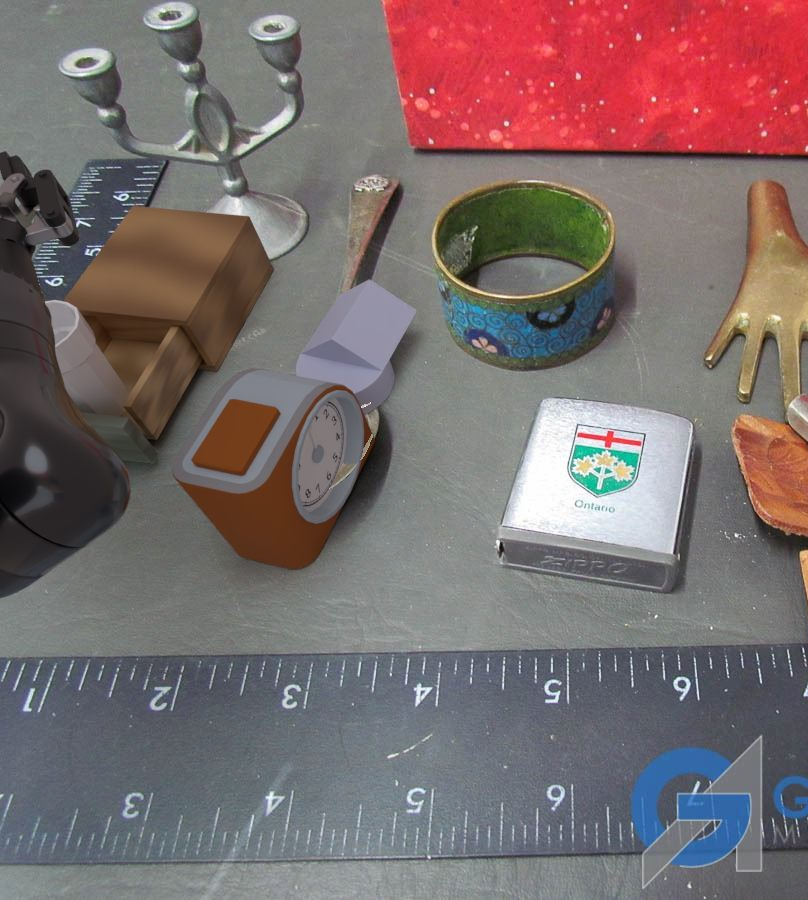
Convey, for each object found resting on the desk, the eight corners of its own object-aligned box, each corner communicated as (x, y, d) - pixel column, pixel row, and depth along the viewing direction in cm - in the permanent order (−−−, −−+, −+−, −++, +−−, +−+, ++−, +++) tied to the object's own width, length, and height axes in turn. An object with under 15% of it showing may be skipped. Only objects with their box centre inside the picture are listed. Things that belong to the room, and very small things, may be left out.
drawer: (147, 474, 78) (116, 438, 73) (28, 459, 79) (-11, 423, 74) (217, 350, 86) (193, 311, 82) (108, 338, 88) (78, 299, 83)
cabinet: (217, 371, 86) (185, 321, 80) (98, 358, 87) (57, 307, 81) (274, 268, 95) (249, 216, 88) (164, 258, 96) (132, 205, 90)
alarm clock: (313, 575, 72) (256, 494, 61) (226, 555, 73) (155, 472, 62) (379, 441, 80) (339, 348, 69) (299, 425, 82) (248, 331, 70)
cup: (106, 439, 79) (39, 364, 70) (55, 418, 80) (-18, 342, 71) (153, 390, 82) (95, 312, 73) (103, 370, 84) (40, 292, 75)
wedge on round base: (347, 317, 90) (290, 408, 83) (329, 271, 84) (266, 364, 77) (423, 332, 88) (372, 426, 81) (410, 287, 83) (353, 383, 76)
